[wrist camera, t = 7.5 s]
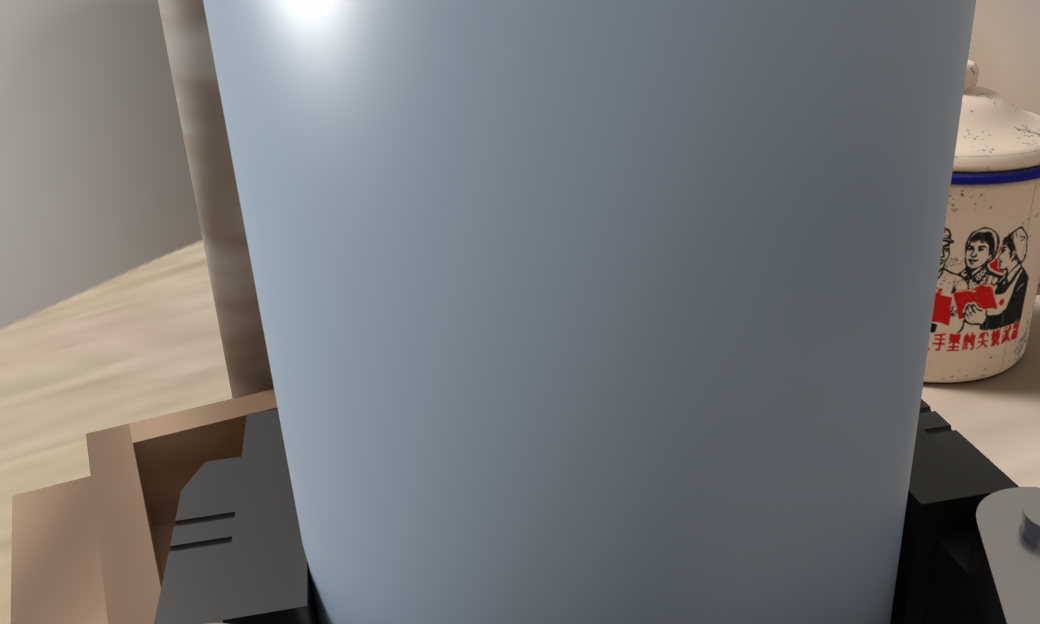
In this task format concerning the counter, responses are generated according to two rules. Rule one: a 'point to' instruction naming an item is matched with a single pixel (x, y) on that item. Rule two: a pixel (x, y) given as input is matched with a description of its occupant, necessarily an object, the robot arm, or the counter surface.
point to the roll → (596, 296)
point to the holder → (161, 440)
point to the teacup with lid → (987, 241)
